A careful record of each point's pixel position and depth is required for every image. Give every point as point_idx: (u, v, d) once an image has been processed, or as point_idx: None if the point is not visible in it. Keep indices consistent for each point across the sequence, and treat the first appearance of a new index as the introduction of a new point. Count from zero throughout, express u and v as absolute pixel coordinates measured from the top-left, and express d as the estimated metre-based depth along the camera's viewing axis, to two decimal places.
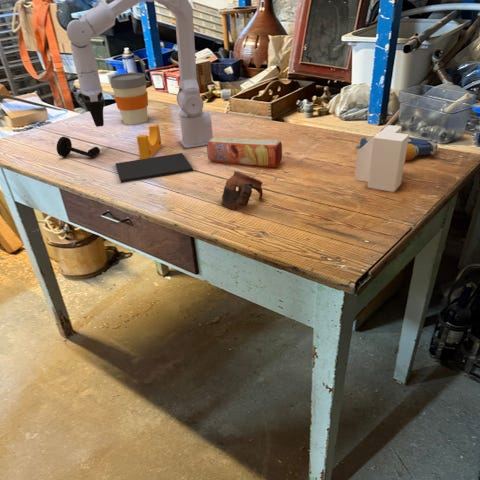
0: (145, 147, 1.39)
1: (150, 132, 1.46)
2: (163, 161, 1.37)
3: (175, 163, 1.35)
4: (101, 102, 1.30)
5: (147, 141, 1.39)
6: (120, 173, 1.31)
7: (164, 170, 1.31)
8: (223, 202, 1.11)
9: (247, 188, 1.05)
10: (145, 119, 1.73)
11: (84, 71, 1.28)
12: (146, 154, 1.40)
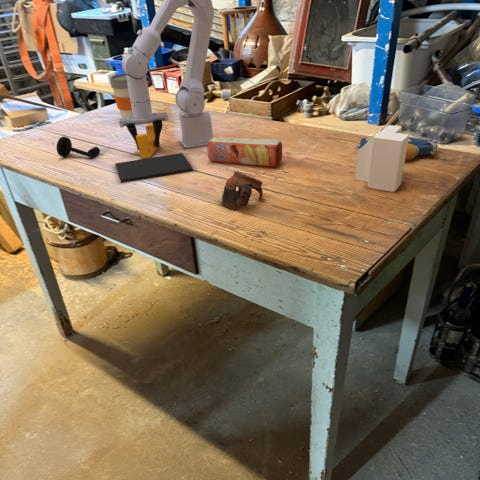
0: (145, 146, 1.39)
1: (147, 131, 1.46)
2: (163, 161, 1.37)
3: (175, 163, 1.35)
4: (128, 129, 1.39)
5: (146, 139, 1.39)
6: (120, 173, 1.31)
7: (164, 170, 1.31)
8: (223, 202, 1.11)
9: (247, 188, 1.05)
10: None
11: (140, 101, 1.34)
12: (146, 153, 1.40)
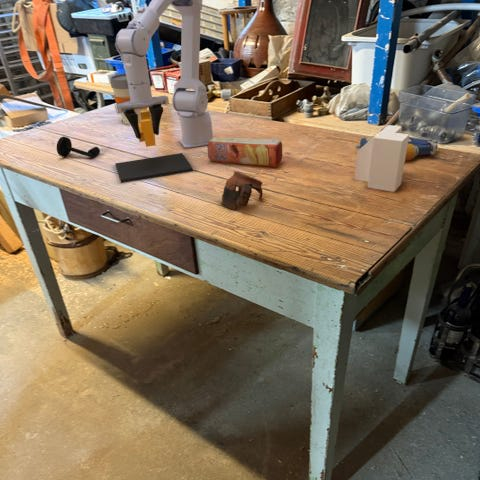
0: (151, 132, 1.25)
1: (143, 118, 1.32)
2: (163, 161, 1.37)
3: (175, 163, 1.35)
4: (128, 115, 1.24)
5: (151, 125, 1.26)
6: (120, 173, 1.31)
7: (164, 170, 1.31)
8: (223, 202, 1.11)
9: (247, 188, 1.05)
10: None
11: (144, 81, 1.21)
12: (152, 140, 1.27)
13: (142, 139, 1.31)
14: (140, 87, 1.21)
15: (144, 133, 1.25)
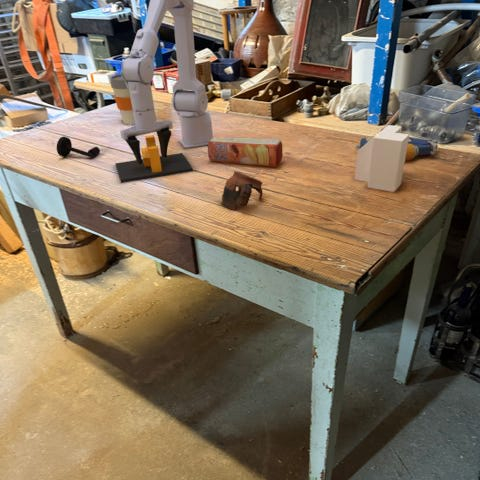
0: (158, 159, 1.28)
1: (148, 143, 1.34)
2: (163, 161, 1.37)
3: (175, 163, 1.35)
4: (130, 142, 1.26)
5: None
6: (120, 173, 1.31)
7: (164, 170, 1.31)
8: (223, 202, 1.11)
9: (247, 188, 1.05)
10: None
11: (150, 108, 1.23)
12: (159, 166, 1.29)
13: (147, 164, 1.34)
14: (146, 113, 1.23)
15: (151, 160, 1.28)
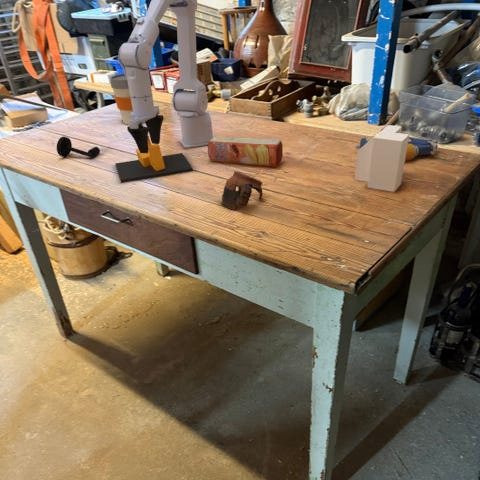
0: (160, 156, 1.28)
1: None
2: None
3: (175, 163, 1.35)
4: (142, 130, 1.22)
5: None
6: (120, 173, 1.31)
7: (164, 170, 1.31)
8: (223, 202, 1.11)
9: (247, 188, 1.05)
10: None
11: (147, 94, 1.21)
12: (162, 163, 1.30)
13: (147, 164, 1.34)
14: (150, 99, 1.22)
15: (154, 158, 1.28)
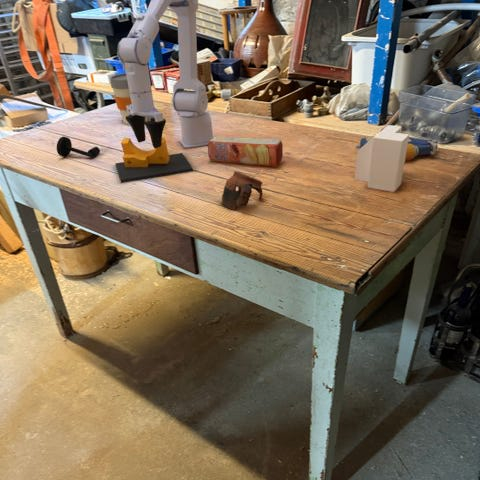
0: (166, 148, 1.32)
1: (130, 147, 1.31)
2: None
3: (175, 163, 1.35)
4: (163, 121, 1.24)
5: None
6: (120, 173, 1.31)
7: (164, 170, 1.31)
8: (223, 202, 1.11)
9: (247, 188, 1.05)
10: (145, 119, 1.73)
11: (147, 90, 1.20)
12: (168, 154, 1.34)
13: (147, 163, 1.34)
14: None
15: (165, 151, 1.31)
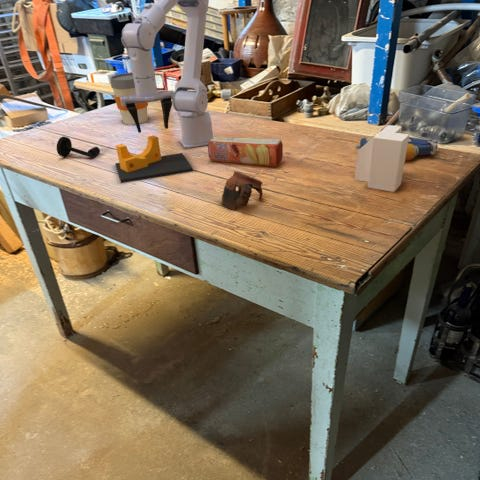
0: None
1: None
2: (163, 161, 1.37)
3: (175, 163, 1.35)
4: None
5: None
6: (120, 173, 1.31)
7: (164, 170, 1.31)
8: (223, 202, 1.11)
9: (247, 188, 1.05)
10: (145, 119, 1.73)
11: (150, 75, 1.22)
12: None
13: None
14: None
15: None
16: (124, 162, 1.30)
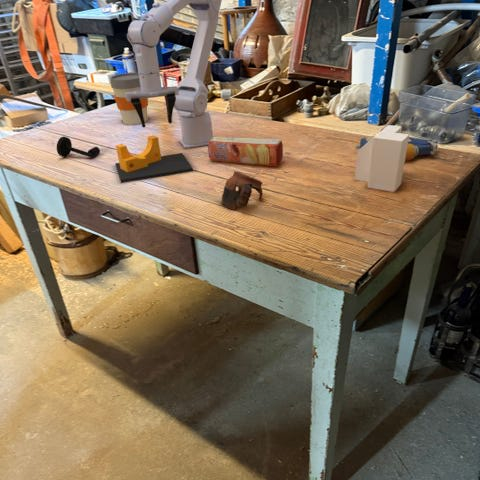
0: None
1: None
2: (163, 161, 1.37)
3: (175, 163, 1.35)
4: None
5: None
6: (120, 173, 1.31)
7: (164, 170, 1.31)
8: (223, 202, 1.11)
9: (247, 188, 1.05)
10: (145, 119, 1.73)
11: (153, 71, 1.26)
12: None
13: None
14: None
15: None
16: (124, 162, 1.30)
